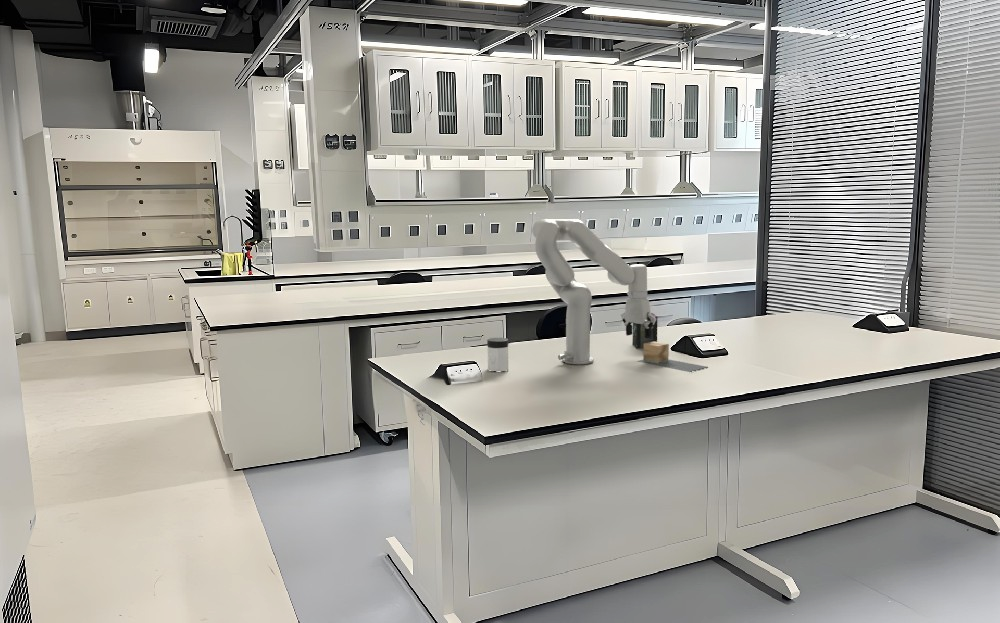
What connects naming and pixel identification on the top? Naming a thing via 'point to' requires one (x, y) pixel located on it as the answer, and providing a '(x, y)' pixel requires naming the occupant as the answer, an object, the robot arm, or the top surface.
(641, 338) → the tampon box
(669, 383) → the top surface
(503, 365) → the jar
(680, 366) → the rubber mat
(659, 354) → the oak block
